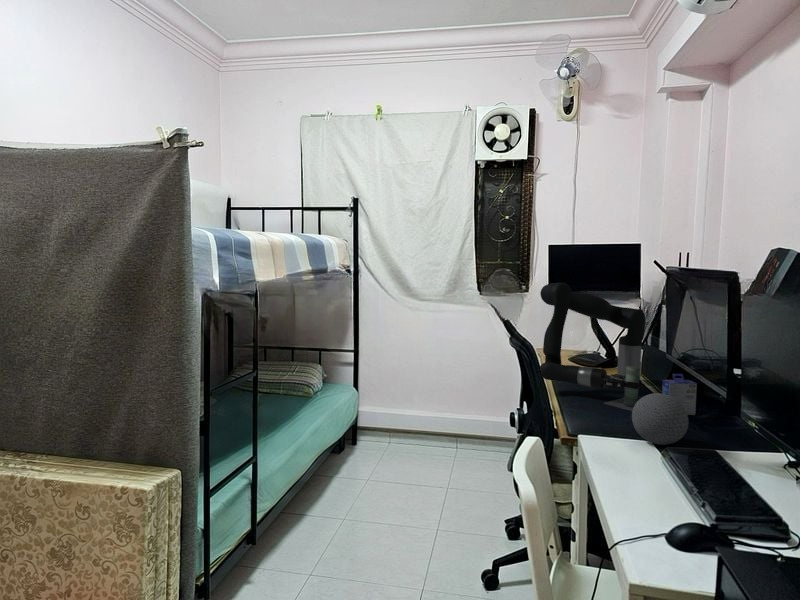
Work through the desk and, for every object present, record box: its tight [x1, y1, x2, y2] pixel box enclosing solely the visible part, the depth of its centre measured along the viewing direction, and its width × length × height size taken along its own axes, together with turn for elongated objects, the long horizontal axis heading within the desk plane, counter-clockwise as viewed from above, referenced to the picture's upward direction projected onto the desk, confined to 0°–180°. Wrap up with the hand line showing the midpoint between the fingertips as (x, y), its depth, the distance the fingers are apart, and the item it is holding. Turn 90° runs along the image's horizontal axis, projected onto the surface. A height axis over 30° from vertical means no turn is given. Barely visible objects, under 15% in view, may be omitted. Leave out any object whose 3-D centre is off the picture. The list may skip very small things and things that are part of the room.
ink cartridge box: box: [661, 373, 698, 416], centre depth 176 cm, size 10×6×14 cm, turn 89°
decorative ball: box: [631, 392, 689, 446], centre depth 149 cm, size 15×15×15 cm
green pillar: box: [623, 366, 640, 407], centre depth 185 cm, size 5×5×14 cm
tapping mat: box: [603, 397, 634, 412], centre depth 185 cm, size 14×14×1 cm
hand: (639, 384), depth 183 cm, fingers closed on green pillar, 4 cm apart
